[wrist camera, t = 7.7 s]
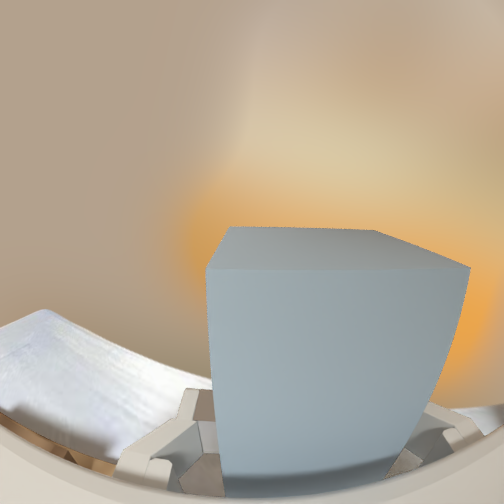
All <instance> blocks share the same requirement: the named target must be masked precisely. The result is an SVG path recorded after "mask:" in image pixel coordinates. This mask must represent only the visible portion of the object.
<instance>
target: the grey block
mask: <svg viewBox="0 0 504 504" xmlns="http://www.w3.org/2000/svg"><path fill="white" fill-rule="evenodd" d="M470 269H471V268H470V267H468V266H466V265H463V264H461V263H458V262H456V261H453V260H451V259H449V258H446V257H444V256H441V255H439V254H436V253H434V252H431V251H429V250H426V249H423V248H421V247H419V246H416V245H413V244H411V243H408V242H405V241H403V240H400V239H397V238H394V237H392V236H389V235H386V234H383V233H380V232H378V231H374V230H355V229H354V230H353V229H327V228H291V227H229V229H228V230H227V232H226V234H225V235H224V237H223V239H222V241H221V242H220V244H219V246H218V248H217V250H216V252H215V253H214V255H213V257H212V258H211V260H210V262H209V264H208V265H207V267H206V296H207V315H208V316H207V317H208V334H209V350H210V363H211V376H212V388H213V399H214V410H215V419H216V429H217V437H218V446H219V454H220V462H221V469H222V476H223V483H224V490H225V496H226V497H229V498H275V497H291V496H301V495H310V494H318V493H325V492H331V491H337V490H342V489H347V488H352V487H356V486H361V485H365V484H369V483H373V482H377V481H380V480H382V479H383V478H384V477H385V475H386V474H387V472H388V471H389V469H390V468H391V466H392V465H393V463H394V462H395V460H396V459H397V457H398V456H399V454H400V453H401V451H402V449H403V448H404V446H405V444H406V443H407V441H408V439H409V438H410V436H411V434H412V432H413V431H414V429H415V427H416V425H417V423H418V421H419V419H420V418H421V416H422V414H423V412H424V410H425V408H426V406H427V403H428V401H429V399H430V397H431V395H432V393H433V390H434V388H435V386H436V383H437V381H438V379H439V376H440V374H441V371H442V369H443V366H444V364H445V361H446V358H447V355H448V353H449V350H450V347H451V344H452V341H453V337H454V335H455V331H456V328H457V325H458V321H459V318H460V314H461V310H462V306H463V302H464V298H465V294H466V289H467V285H468V280H469V274H470Z"/></svg>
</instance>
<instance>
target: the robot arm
mask: <svg viewBox="0 0 504 504" xmlns="http://www.w3.org/2000/svg"><path fill="white" fill-rule="evenodd" d="M404 447H405V448H406V449H408V450H409V451H411V452H412V453H413V454H415V455H416V456H418V457H419V458H421V459H422V460H424V461H423V462H422V463H421V465H420V466H419V467H418V468H417V469H414V470H411V471H409V472H406V473H403V474H400V475H397V476H394V477H390V478H387V479H384V480H380V481H377V482H373V483H369V484H365V485H361V486H356V487H352V488H347V489H342V490H337V491H331V492H325V493H318V494H310V495H301V496H291V497H275V498H229V497H213V496H203V495H194V494H186V493H184V492H183V490H182V488H181V485H180V483H179V480H178V479H179V478H180V477H181V476H182V475H183V474H184V473H185V472H186V471H187V470H188V469H189V468H190V467H191V466H192V465H193V464H194V463H195V462H196V461H197V460H198V459H199V458H200V457H201V456H202V455H203V453H213V454H219V446H218V437H217V429H216V419H215V410H214V399H213V390H205V389H201V390H200V389H192V388H186V389H185V391H184V394H183V397H182V400H181V404H180V407H179V410H178V414H177V417H176V419H174V418H172V419H170V420H169V421H167V422H166V423H164V424H163V425H161V426H160V427H158V428H157V429H155V430H154V431H152V432H151V433H149V434H148V435H146V436H144V437H143V438H141V439H140V440H138V441H137V442H135V443H133V444H132V445H130V446H128V447H127V448H125V449H124V450H123V451H122V454H121V456H120V458H119V461H118V463H117V465H116V468H115V470H114V472H113V475H112V477H110V476H107V475H104V474H101V473H98V472H95V471H92V470H90V469H87V468H84V467H82V466H79V465H77V464H74V463H72V462H70V461H67V460H65V459H63V458H60V457H58V456H56V455H54V454H52V453H50V452H48V451H46V450H44V449H42V448H40V447H38V446H36V445H34V444H32V443H30V442H28V441H27V440H25V439H23V438H21V437H20V436H18V435H16V434H15V433H13V432H11V431H10V430H8V429H7V428H5V427H4V426H2V425H1V424H0V504H504V425H502V426H501V427H499V428H497V429H496V430H494V431H493V432H491V433H489V434H488V435H486V436H484V435H483V433H482V432H481V431H480V430H479V428H478V427H477V426H476V424H475V423H474V422H473V421H472V420H471V418H469V417H466V416H463V415H461V414H458V413H456V412H454V411H451V410H449V409H446V408H444V407H442V406H439V405H437V404H434V403H432V402H430V401H428V403H427V406H426V408H425V410H424V412H423V414H422V416H421V418H420V419H419V421H418V423H417V425H416V427H415V429H414V431H413V432H412V434H411V436H410V438H409V439H408V441H407V443H406V444H405V446H404Z"/></svg>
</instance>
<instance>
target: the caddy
mask: <svg viewBox="0 0 504 504" xmlns="http://www.w3.org/2000/svg"><path fill="white" fill-rule="evenodd" d="M0 424H1V425H2V426H4V427H5V428H7V429H8V430H10V431H11V432H13V433H15V434H16V435H18V436H20V437H21V438H23V439H25V440H27V441H28V442H30V443H32V444H34V445H36V446H38V447H40V448H42V449H44V450H46V451H48V452H50V453H52V454H54V455H56V456H58V457H60V458H63V459H65V460H67V461H70V462H72V463H74V464H77V465H79V466H82V467H84V468H87V469H90V470H92V471H95V472H98V473H101V474H104V475H107V476H110V477H112V475H113V472H114V470H115V468H116V465H115V464H111V463H108V462H105V461H102V460H99V459H96V458H93V457H90V456H88V455H85V454H82V453H80V452H77V451H75V450H72V449H70V448H67V447H65V446H63V445H60V444H58V443H56V442H54V441H52V440H50V439H47V438H45V437H43V436H41V435H39V434H37V433H35V432H34V431H32V430H30V429H28V428H26V427H24V426H23V425H21V424H19V423H17V422H16V421H14V420H12V419H11V418H9V417H7V416H6V415H4V414H3V413H1V412H0Z"/></svg>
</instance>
